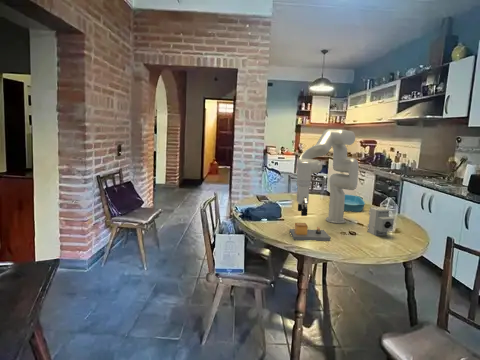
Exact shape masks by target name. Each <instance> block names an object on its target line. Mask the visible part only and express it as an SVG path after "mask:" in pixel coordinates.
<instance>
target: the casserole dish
mask: <svg viewBox="0 0 480 360" xmlns="http://www.w3.org/2000/svg"><path fill="white" fill-rule="evenodd" d="M365 205H366V203H365V201H364V199H363V198H362V197H361V196H359V195H352V194H347V193H346V194H345V203H344V212H351V213H352V212H353V213H359V212H361V211H362V210H363V209H364V208H365Z"/></svg>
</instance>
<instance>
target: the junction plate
mask: <svg viewBox="0 0 480 360" xmlns="http://www.w3.org/2000/svg"><path fill="white" fill-rule="evenodd" d="M294 230H295V228H289V234H290V233H291V234H290V235H292V236H291V238H292V237H293V238H292V239H295V240H294V241H304V240H316V242H320V241H321V242H331V236H330V235H329V234H328V233H327V231H325V230H324V229H321V227H320V226H317V227H316V229H307V235H298V234H296V233H295V231H294Z"/></svg>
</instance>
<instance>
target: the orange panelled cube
mask: <svg viewBox="0 0 480 360" xmlns="http://www.w3.org/2000/svg"><path fill="white" fill-rule="evenodd" d="M308 227H309V226H308V224H307V223H306V222H295V223H294V229H295V230H294V231H295V233H296V234H298V235H307V229H308Z"/></svg>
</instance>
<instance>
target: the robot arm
mask: <svg viewBox="0 0 480 360" xmlns="http://www.w3.org/2000/svg"><path fill="white" fill-rule="evenodd" d="M355 141H356V135H355V132H354V131H353V130H346V129H340V128H339V129H338V128H336V129H335V128H333V129H332V128H330V129H329V128H328V129H325V130H324V131H323V132H322V134H321V136H320V137H319V139H318V140H317V142H316V144H315V145H312V146H310V147H309V148H307V149H305V150H304V151H303V152H302V153H301V154H300V156H299V158H298V159H297V162H296V169H297V174H296V176H297V177H296V186H297V191H296V202H297V211H298V212H300V213H301V214H300V216H301V217H307V216H308V205H309V196H310V195H309V194H310V187H311V185H312V174H318V173H320V172H321V171H322V169H323V163H322V161H321V160H318V159H314V158H318V157H322V156H326V155H328V154H329V152H330V150H331V148H332V149H333V151H332V153H333V156H332V170H334V171H335V172H339V173H332V174H331V175H330V177H329V193H330V194H329V203H328V217H327V216H326V217H325V221H326V222H328V223H332V224H344V223H346V219H345V218H344V214H345V213H344V212H345V211H344V203H345V191H344V190H348V191H354V190H357V189H356V188H357V186H358V181H359V166H360V165H359V162H358V159H356V158H353V157H348V148H347V146H352V145H353V144H354V143H355ZM345 173H346V174H345ZM347 173H348V174H347Z"/></svg>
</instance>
